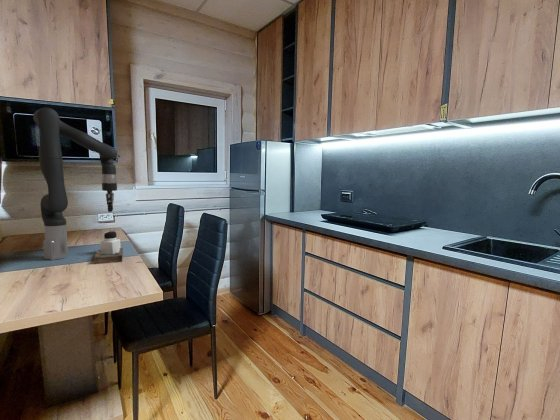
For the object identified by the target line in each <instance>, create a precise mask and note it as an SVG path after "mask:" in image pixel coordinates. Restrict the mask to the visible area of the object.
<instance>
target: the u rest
mask: <svg viewBox="0 0 560 420" xmlns="http://www.w3.org/2000/svg"><path fill="white" fill-rule="evenodd" d="M123 256H124V248H123V247H120V250H119V252H118V253H116V254H101V249H97V251H96V252H95V256H94V258H93V262H94V263H93V264H94V265H98V264H99V265H100V264H109V263H110V264H112V263H120V262H121V263H122V262H123Z"/></svg>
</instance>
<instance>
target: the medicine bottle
mask: <svg viewBox="0 0 560 420" xmlns="http://www.w3.org/2000/svg"><path fill="white" fill-rule="evenodd" d="M99 244H100V250H101V255H106V254H118V253H119V250H120V248H121V239H117V232H116V231H113V230H112V231H105V232H104V233H103V240H101V241H100V242H99Z"/></svg>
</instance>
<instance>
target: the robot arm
mask: <svg viewBox="0 0 560 420" xmlns="http://www.w3.org/2000/svg"><path fill="white" fill-rule="evenodd" d="M32 118H33V121H34V122H35V123H36V124H37V125H38V127H39V131H40V144H39V148H38V149H39V150H38V159H39V161H38V162H39V168H40V171H41V174H42V175H43V177H44V180H45V182H46V185H47V189H48V190H47V194H44V196H42V197H41V199H40V213H41V220H42V221H43V222H42V223H43V228H44V240H42V245H43V258H44V260H50V261H55V260H61V259H65V258H68V257H69V246H68V229H67V219H66V218H65V217H64V215H63V212H65V211H66V209H67V208H68V205H69V201H68V200H69V199H68V195H67V191H66V190H67V189H66V187H65V185H66V184H65V177H64V175H65V174H64V163H63V161H64V160H63V154H62V146H61V140H60V135H61V136H63V137H65V138H67V139H69V140H70V141H73V142H74V143H76V144H78V145H79V146H82V147H83V148H85V149H87V150H88V151H91V152H94V153H97V154H99V155H98V156H99V161H100V164H101V190H102V191H104V192H105V191H106V193H105V197H106V198H105V201H106V205H107V212H108V213H112V212H113V211H114V199H115V194H114V192H116V191H118V179H117V169H116V168H117V167H116V165H115V164H114V159H116V158H117V157H118V152H117V150H116V149H115V147H113V146H111V145H109V144H107V143H105V142H102V141H100V140H98V139H97V138H95V137H93V136H91V135H90V134H88V133H86V132H84V131H82V130H80V129H77V128H74V127H73V126H71V125H69V124H67V123H65V122H64V121H62V120H60V116H59V114H58V112H57V111H56V110H55V109H53V108H50V107H41V108H39V109H37V110H36V111H35V112H34V113H33V117H32ZM113 191H114V192H113Z"/></svg>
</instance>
